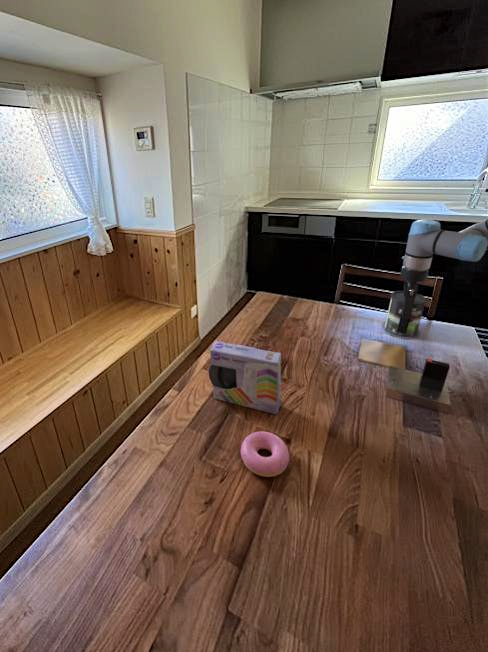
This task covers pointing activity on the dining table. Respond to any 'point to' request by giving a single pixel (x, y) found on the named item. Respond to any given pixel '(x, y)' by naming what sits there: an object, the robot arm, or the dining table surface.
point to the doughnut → (265, 464)
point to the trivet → (381, 354)
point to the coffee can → (397, 308)
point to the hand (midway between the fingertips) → (401, 325)
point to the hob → (415, 390)
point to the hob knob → (434, 374)
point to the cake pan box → (246, 376)
